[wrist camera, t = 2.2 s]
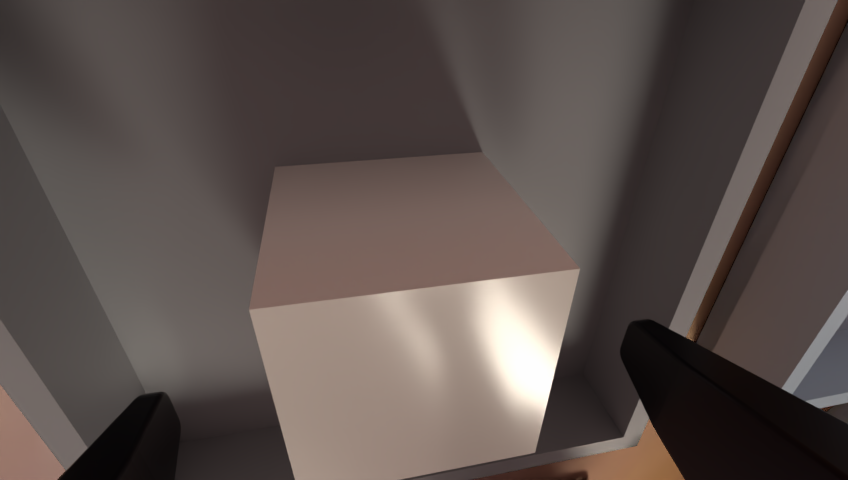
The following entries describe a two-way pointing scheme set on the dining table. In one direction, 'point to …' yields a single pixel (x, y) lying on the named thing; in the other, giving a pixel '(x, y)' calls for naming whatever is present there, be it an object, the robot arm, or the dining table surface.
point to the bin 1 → (357, 141)
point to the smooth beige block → (407, 316)
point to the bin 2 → (796, 261)
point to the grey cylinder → (840, 412)
